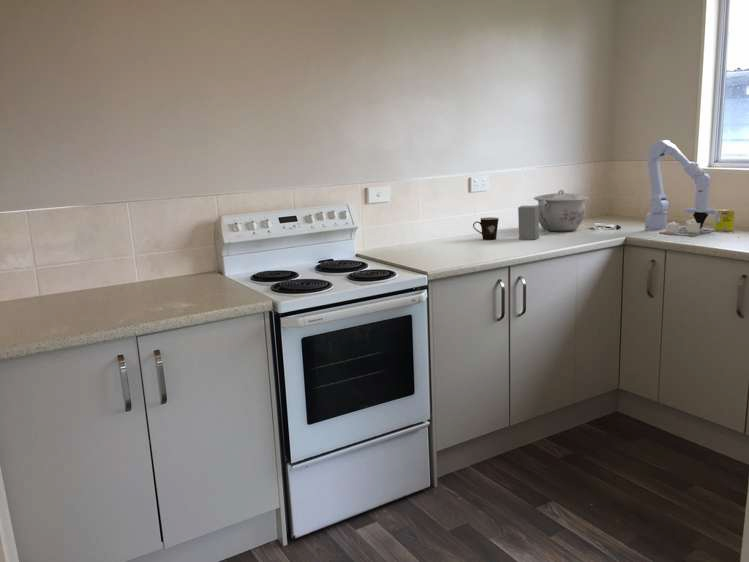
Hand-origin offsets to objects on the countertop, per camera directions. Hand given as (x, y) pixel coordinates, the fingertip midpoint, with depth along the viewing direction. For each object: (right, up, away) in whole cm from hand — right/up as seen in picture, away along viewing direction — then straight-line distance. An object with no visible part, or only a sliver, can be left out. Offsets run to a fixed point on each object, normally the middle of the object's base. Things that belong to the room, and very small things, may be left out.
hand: (699, 228), depth 315 cm
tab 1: (-15, -2, -4) cm, 15 cm away
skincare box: (-81, -5, +2) cm, 81 cm away
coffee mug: (-100, -5, +6) cm, 101 cm away
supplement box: (+12, -2, +2) cm, 12 cm away
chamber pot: (-59, +1, +28) cm, 65 cm away
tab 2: (-2, -1, +3) cm, 4 cm away
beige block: (-5, -2, -4) cm, 7 cm away
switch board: (-7, -3, -2) cm, 8 cm away
